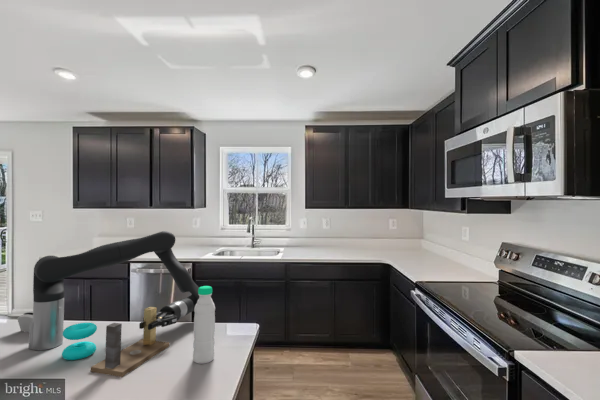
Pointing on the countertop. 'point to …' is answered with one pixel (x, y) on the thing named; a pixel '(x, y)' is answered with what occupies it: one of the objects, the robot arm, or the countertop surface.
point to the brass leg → (148, 335)
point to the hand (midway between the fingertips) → (144, 326)
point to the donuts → (79, 348)
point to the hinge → (25, 321)
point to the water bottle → (204, 326)
